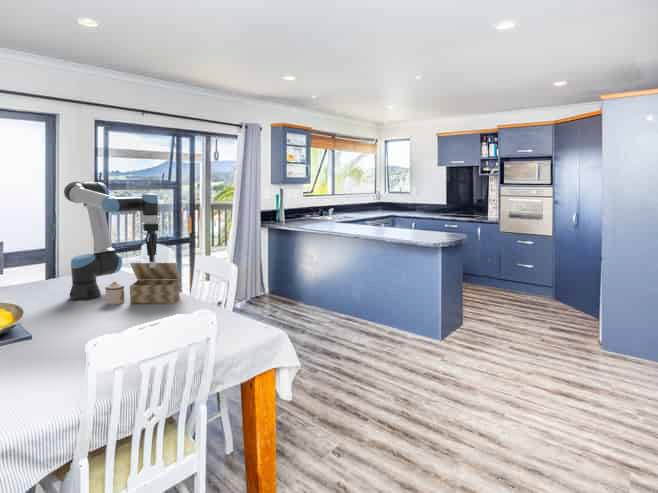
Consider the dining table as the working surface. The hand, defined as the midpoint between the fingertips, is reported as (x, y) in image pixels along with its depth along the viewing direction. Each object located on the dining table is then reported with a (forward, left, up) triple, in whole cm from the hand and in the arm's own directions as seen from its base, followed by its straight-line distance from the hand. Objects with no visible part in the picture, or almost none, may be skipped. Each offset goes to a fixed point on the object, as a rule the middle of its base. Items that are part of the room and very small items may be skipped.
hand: (152, 267), depth 228 cm
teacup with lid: (-20, +1, -19) cm, 28 cm away
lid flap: (0, +6, -4) cm, 7 cm away
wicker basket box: (0, +4, -19) cm, 19 cm away
